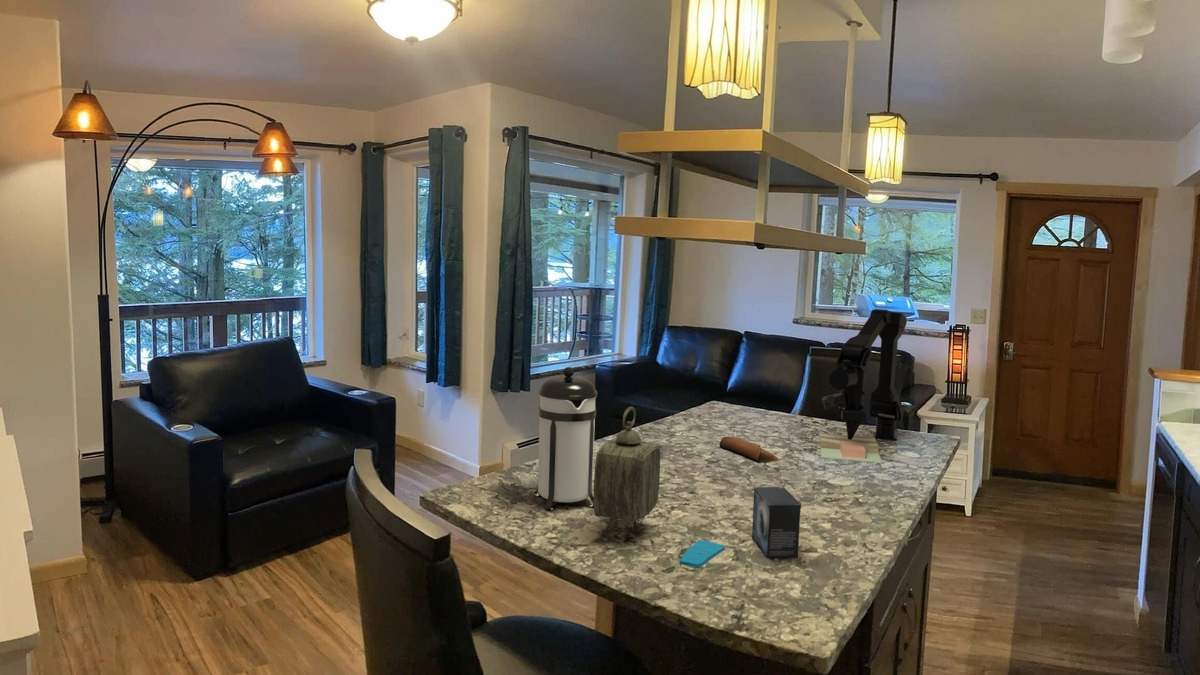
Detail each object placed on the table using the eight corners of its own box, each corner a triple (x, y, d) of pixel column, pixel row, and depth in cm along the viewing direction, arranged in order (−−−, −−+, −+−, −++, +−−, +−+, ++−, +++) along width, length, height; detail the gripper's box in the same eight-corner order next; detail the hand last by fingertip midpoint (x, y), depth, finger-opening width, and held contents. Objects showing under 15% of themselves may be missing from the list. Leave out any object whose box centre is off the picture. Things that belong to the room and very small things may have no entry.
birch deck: (819, 439, 237) (820, 433, 237) (874, 444, 233) (874, 437, 233) (820, 448, 225) (820, 441, 225) (878, 453, 221) (878, 447, 221)
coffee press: (613, 497, 174) (618, 366, 170) (575, 517, 160) (579, 374, 157) (549, 484, 182) (553, 358, 179) (508, 501, 169) (511, 366, 165)
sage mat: (820, 449, 225) (820, 447, 225) (878, 454, 221) (878, 453, 221) (821, 457, 215) (821, 456, 215) (881, 463, 211) (881, 461, 211)
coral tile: (839, 449, 224) (840, 440, 223) (861, 451, 223) (861, 442, 222) (842, 457, 215) (843, 448, 215) (865, 458, 214) (865, 450, 213)
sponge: (668, 558, 139) (698, 562, 136) (697, 539, 149) (725, 542, 146) (669, 566, 139) (698, 571, 136) (698, 546, 149) (726, 550, 146)
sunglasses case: (783, 460, 211) (774, 440, 209) (765, 475, 208) (756, 455, 206) (741, 444, 227) (733, 426, 224) (724, 458, 224) (716, 440, 222)
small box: (749, 537, 152) (752, 485, 151) (781, 537, 153) (784, 486, 152) (765, 558, 142) (768, 503, 141) (799, 558, 142) (803, 503, 141)
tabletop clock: (617, 516, 162) (622, 399, 159) (659, 523, 158) (664, 403, 156) (591, 539, 148) (596, 411, 145) (636, 547, 145) (641, 417, 142)
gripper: (823, 379, 232) (820, 429, 234) (825, 389, 214) (821, 444, 216) (862, 381, 230) (858, 433, 231) (867, 392, 212) (863, 447, 213)
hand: (849, 439), depth 223 cm, fingers closed
